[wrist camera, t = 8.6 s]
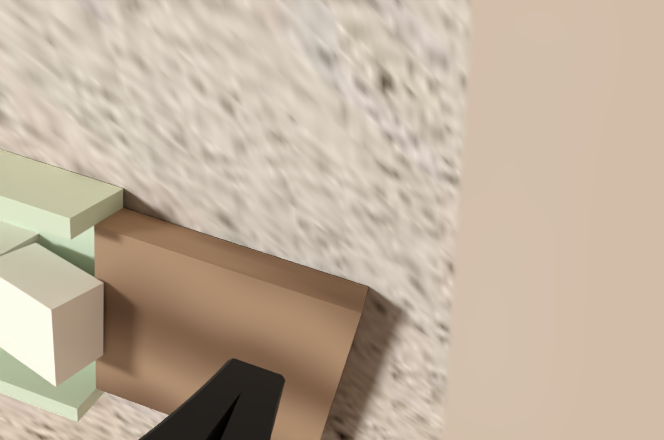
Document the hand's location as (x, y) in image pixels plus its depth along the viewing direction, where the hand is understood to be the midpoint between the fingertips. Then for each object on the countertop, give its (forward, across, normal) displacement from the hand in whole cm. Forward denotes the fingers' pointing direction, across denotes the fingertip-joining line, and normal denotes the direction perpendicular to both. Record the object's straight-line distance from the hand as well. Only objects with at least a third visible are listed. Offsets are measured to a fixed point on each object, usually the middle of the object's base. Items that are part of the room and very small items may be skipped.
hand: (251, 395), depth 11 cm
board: (+10, +4, +7) cm, 13 cm away
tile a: (+8, +12, +7) cm, 16 cm away
